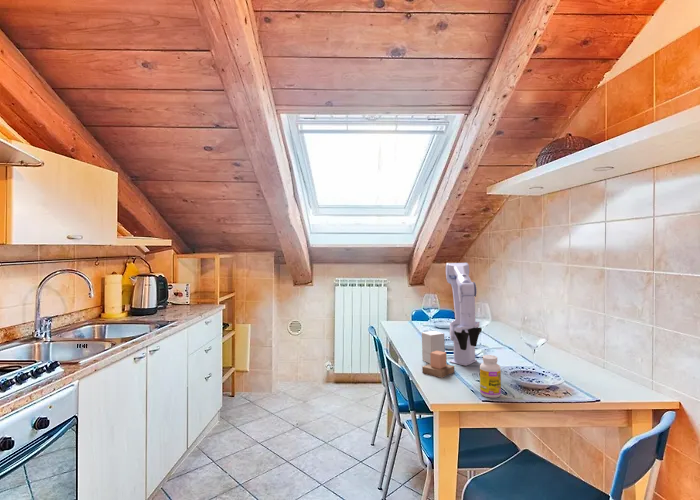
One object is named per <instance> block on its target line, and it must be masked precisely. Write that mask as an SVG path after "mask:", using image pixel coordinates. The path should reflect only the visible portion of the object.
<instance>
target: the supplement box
mask: <svg viewBox="0 0 700 500" xmlns="http://www.w3.org/2000/svg"><path fill="white" fill-rule="evenodd" d="M445 345H446V342H445V333H443V332H440V331H436V330H430V331H429V330H428V331H424V332H421V348H422V350H421V352H422V354H421V355H422V359H421V360H422V361H424V362H426V363H428V364H431V356H430V353H431V352H434V351H442V352H446V350H445V349H446V346H445Z"/></svg>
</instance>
